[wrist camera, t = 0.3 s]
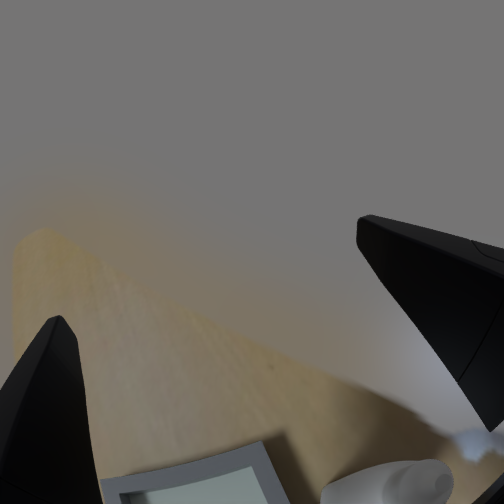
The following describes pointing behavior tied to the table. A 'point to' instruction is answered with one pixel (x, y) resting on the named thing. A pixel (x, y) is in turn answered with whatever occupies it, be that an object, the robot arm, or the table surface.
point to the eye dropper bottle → (393, 484)
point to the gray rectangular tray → (203, 482)
